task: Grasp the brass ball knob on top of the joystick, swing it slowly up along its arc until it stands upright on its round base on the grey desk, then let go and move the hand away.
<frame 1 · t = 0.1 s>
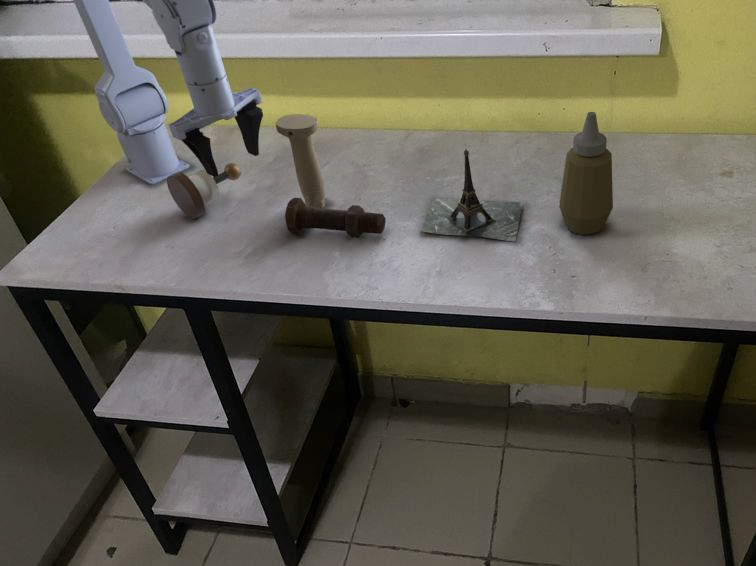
hand: (233, 163, 109), 10 cm above the table, tool pointing down, fingers open, 7 cm apart
handle: (317, 207, 118), on the table
eiffel tower figurine: (473, 221, 112), on the table
bolt: (339, 233, 112), on the table
joystick: (211, 182, 118), point 4 cm above the table, hinge at -0.1°
squeeze bottle: (584, 226, 109), on the table
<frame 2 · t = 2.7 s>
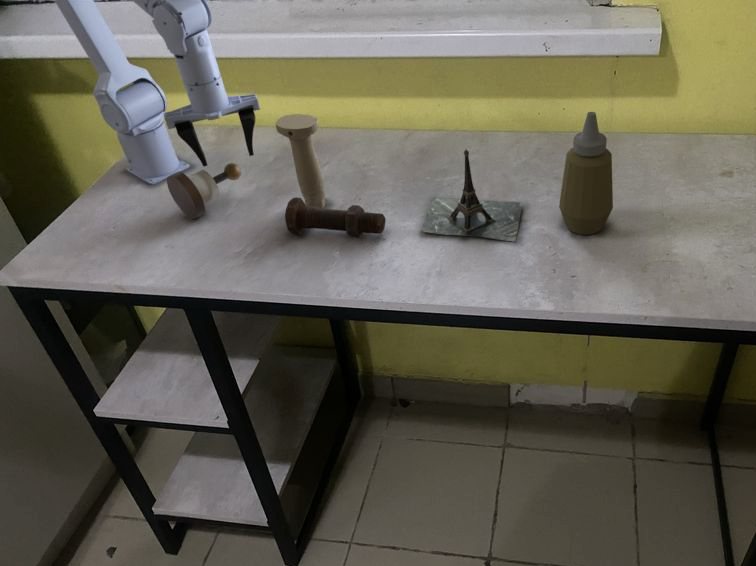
hand: (228, 158, 118), 7 cm above the table, tool pointing down, fingers open, 7 cm apart
nothing on the table moved.
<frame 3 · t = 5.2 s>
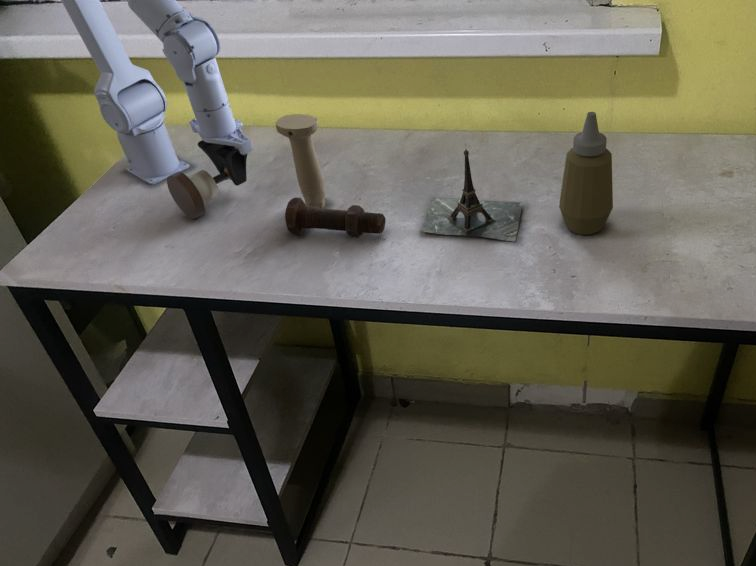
hand: (235, 180, 121), 2 cm above the table, tool pointing down, fingers closed on joystick, 3 cm apart
joystick: (211, 182, 118), point 4 cm above the table, hinge at 0.0°, touching gripper
everything else where it was.
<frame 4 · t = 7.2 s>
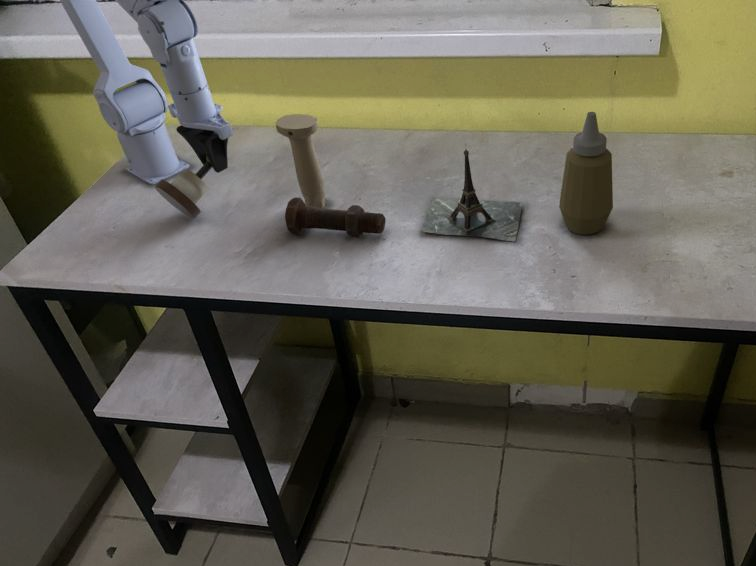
hand: (216, 166, 117), 6 cm above the table, tool pointing down, fingers closed on joystick, 3 cm apart
joystick: (197, 177, 115), point 6 cm above the table, hinge at 22.5°, touching gripper
everything else where it was.
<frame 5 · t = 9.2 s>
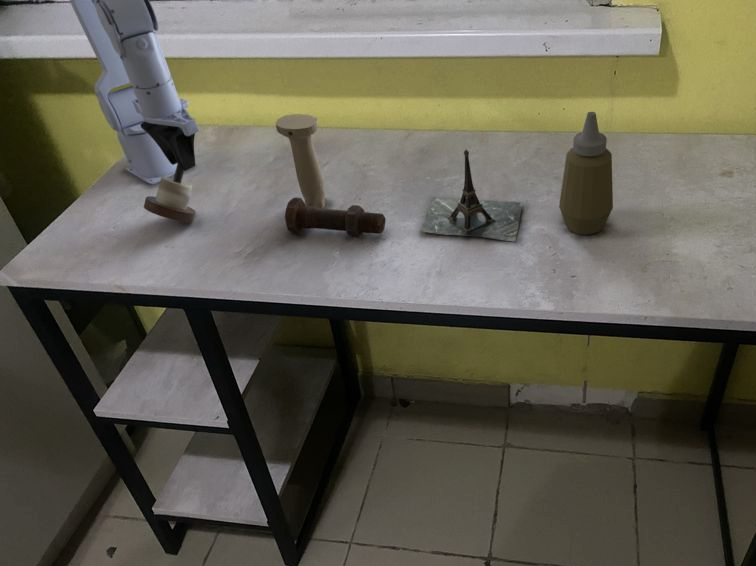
hand: (183, 164, 113), 9 cm above the table, tool pointing down, fingers closed on joystick, 3 cm apart
joystick: (177, 180, 113), point 7 cm above the table, hinge at 52.8°, touching gripper
everything else where it was.
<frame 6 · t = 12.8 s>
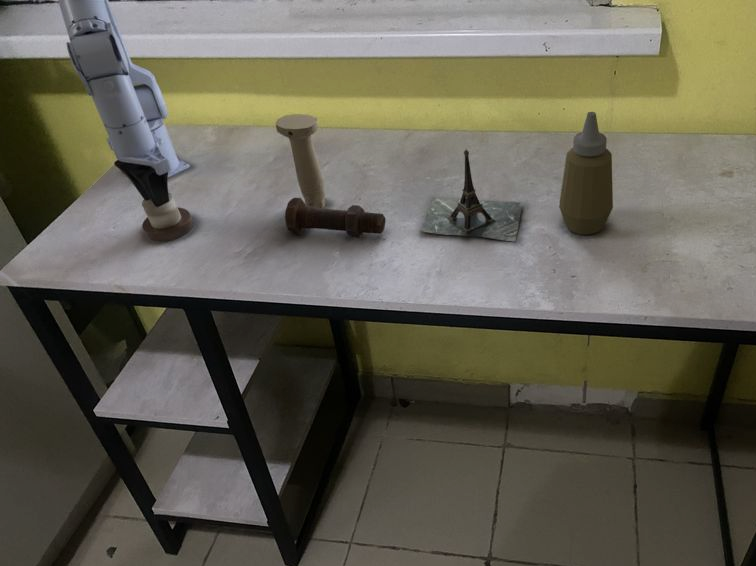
hand: (157, 201, 112), 5 cm above the table, tool pointing down, fingers closed on joystick, 2 cm apart
joystick: (156, 198, 112), point 6 cm above the table, hinge at 90.8°, touching gripper
everything else where it was.
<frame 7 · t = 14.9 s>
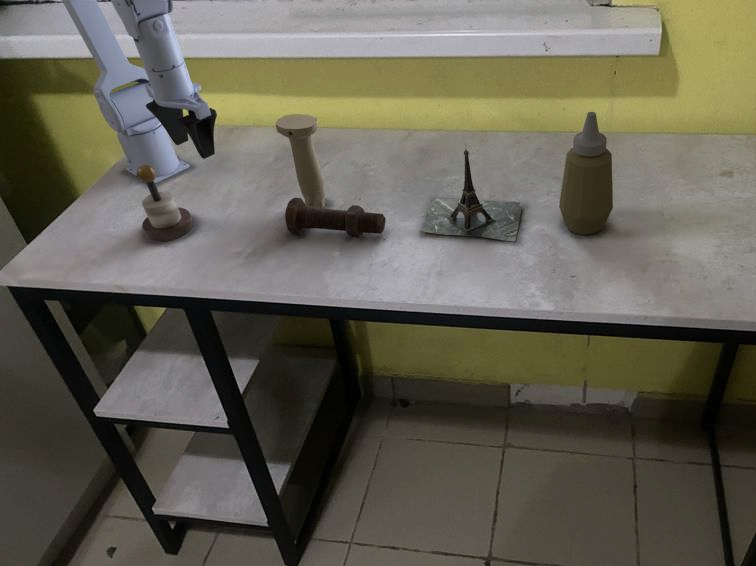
hand: (194, 149, 113), 10 cm above the table, tool pointing down, fingers open, 7 cm apart
joystick: (156, 197, 112), point 6 cm above the table, hinge at 90.1°
everything else where it was.
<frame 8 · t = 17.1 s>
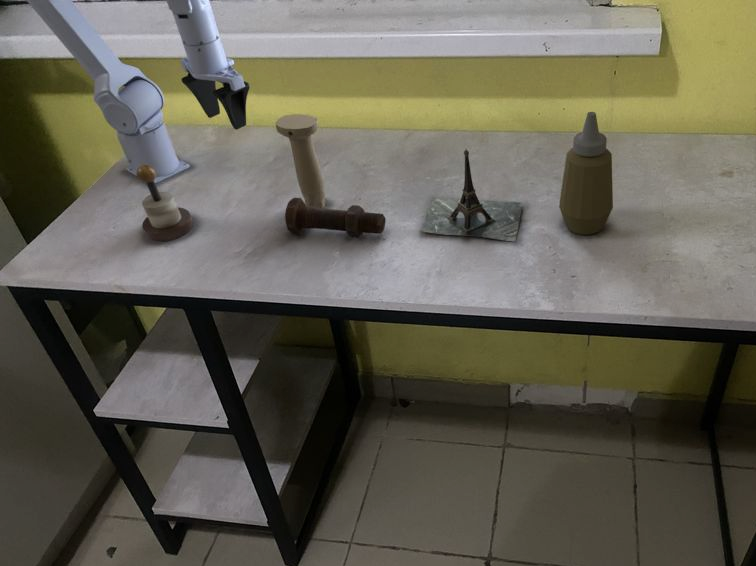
hand: (227, 121, 120), 10 cm above the table, tool pointing down, fingers open, 7 cm apart
nothing on the table moved.
at the end: joystick at +90° (first picture: +0°); the gripper is holding nothing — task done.
